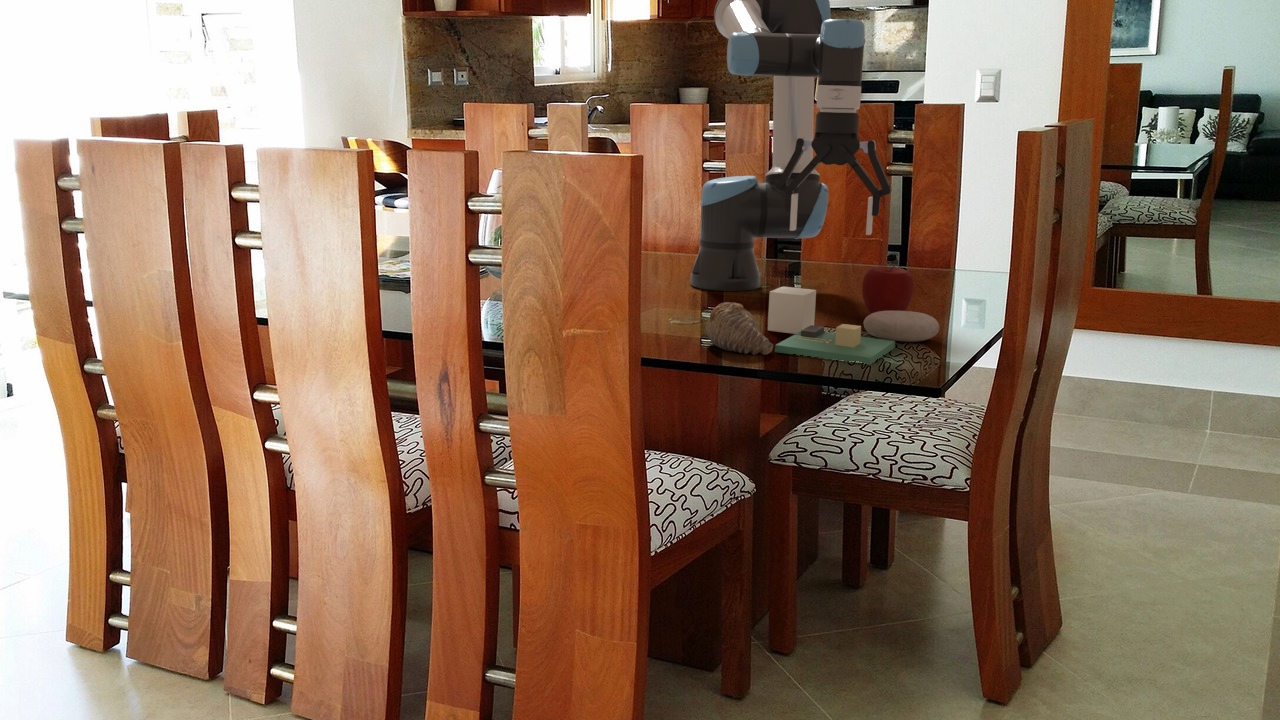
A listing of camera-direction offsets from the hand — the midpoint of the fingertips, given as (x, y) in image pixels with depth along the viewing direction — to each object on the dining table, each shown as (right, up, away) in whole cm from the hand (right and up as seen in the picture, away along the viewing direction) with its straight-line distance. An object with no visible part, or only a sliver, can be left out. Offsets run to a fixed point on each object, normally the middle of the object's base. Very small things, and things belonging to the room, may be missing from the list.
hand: (830, 232), depth 199 cm
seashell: (-18, -21, -14) cm, 31 cm away
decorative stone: (+11, -20, -7) cm, 24 cm away
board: (-2, -21, -15) cm, 26 cm away
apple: (+12, -15, +11) cm, 23 cm away
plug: (-7, -17, -1) cm, 19 cm away
